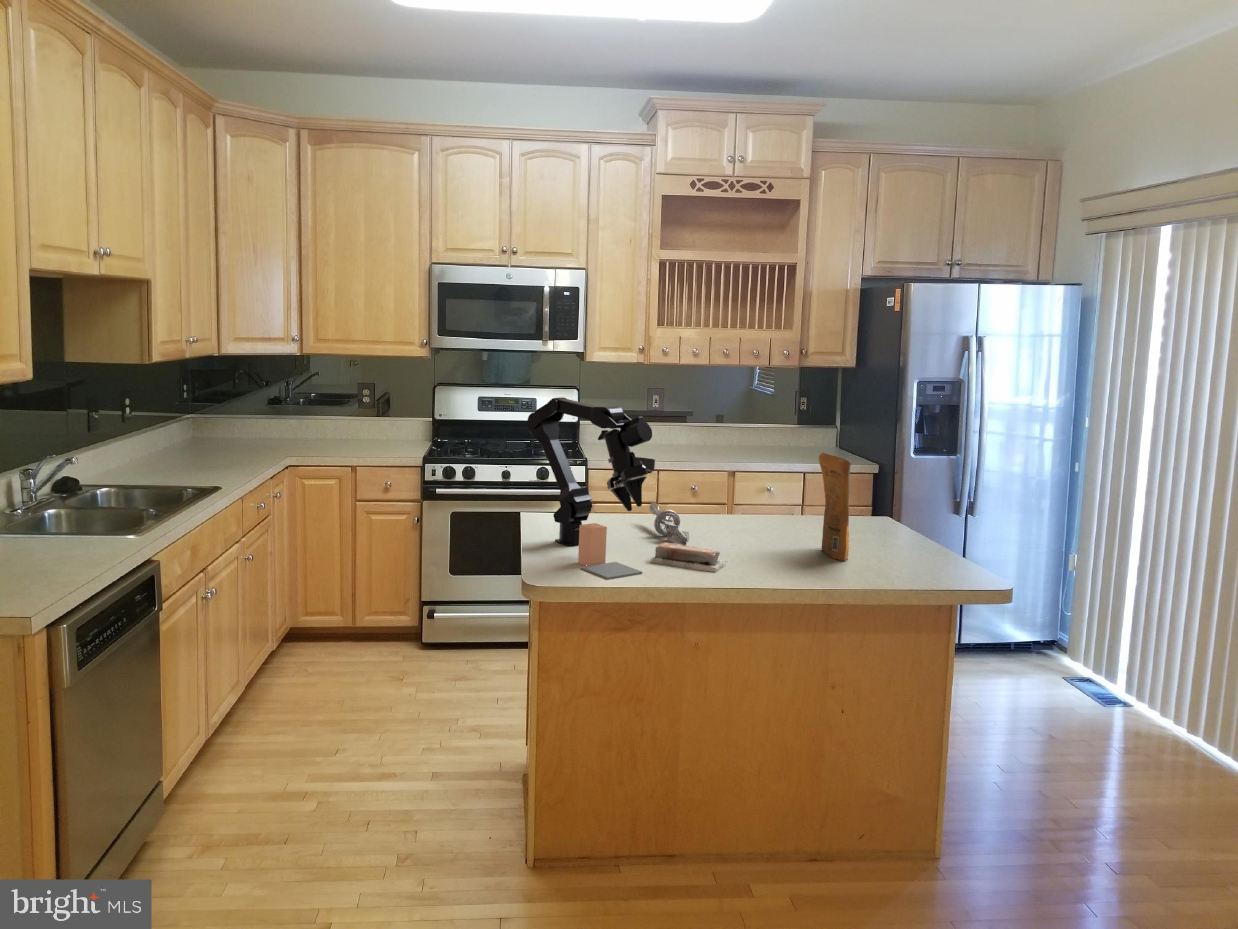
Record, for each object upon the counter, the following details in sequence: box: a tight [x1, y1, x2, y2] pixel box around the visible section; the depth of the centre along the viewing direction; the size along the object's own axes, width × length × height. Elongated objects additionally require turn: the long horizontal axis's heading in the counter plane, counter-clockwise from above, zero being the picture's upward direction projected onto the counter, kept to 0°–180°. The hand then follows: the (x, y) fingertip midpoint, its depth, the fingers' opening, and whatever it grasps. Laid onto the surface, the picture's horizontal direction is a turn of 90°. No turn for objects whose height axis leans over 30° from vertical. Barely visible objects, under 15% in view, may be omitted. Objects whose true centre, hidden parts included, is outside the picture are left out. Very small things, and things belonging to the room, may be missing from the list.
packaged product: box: [651, 542, 728, 573], centre depth 261 cm, size 18×5×10 cm
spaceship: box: [649, 502, 690, 546], centre depth 291 cm, size 8×35×8 cm
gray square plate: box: [580, 561, 643, 580], centre depth 250 cm, size 11×11×1 cm
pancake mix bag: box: [818, 452, 852, 562], centre depth 277 cm, size 7×19×28 cm, turn 6°
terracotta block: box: [577, 522, 608, 566], centre depth 256 cm, size 5×5×10 cm
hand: (634, 508), depth 262 cm, fingers open, 9 cm apart
